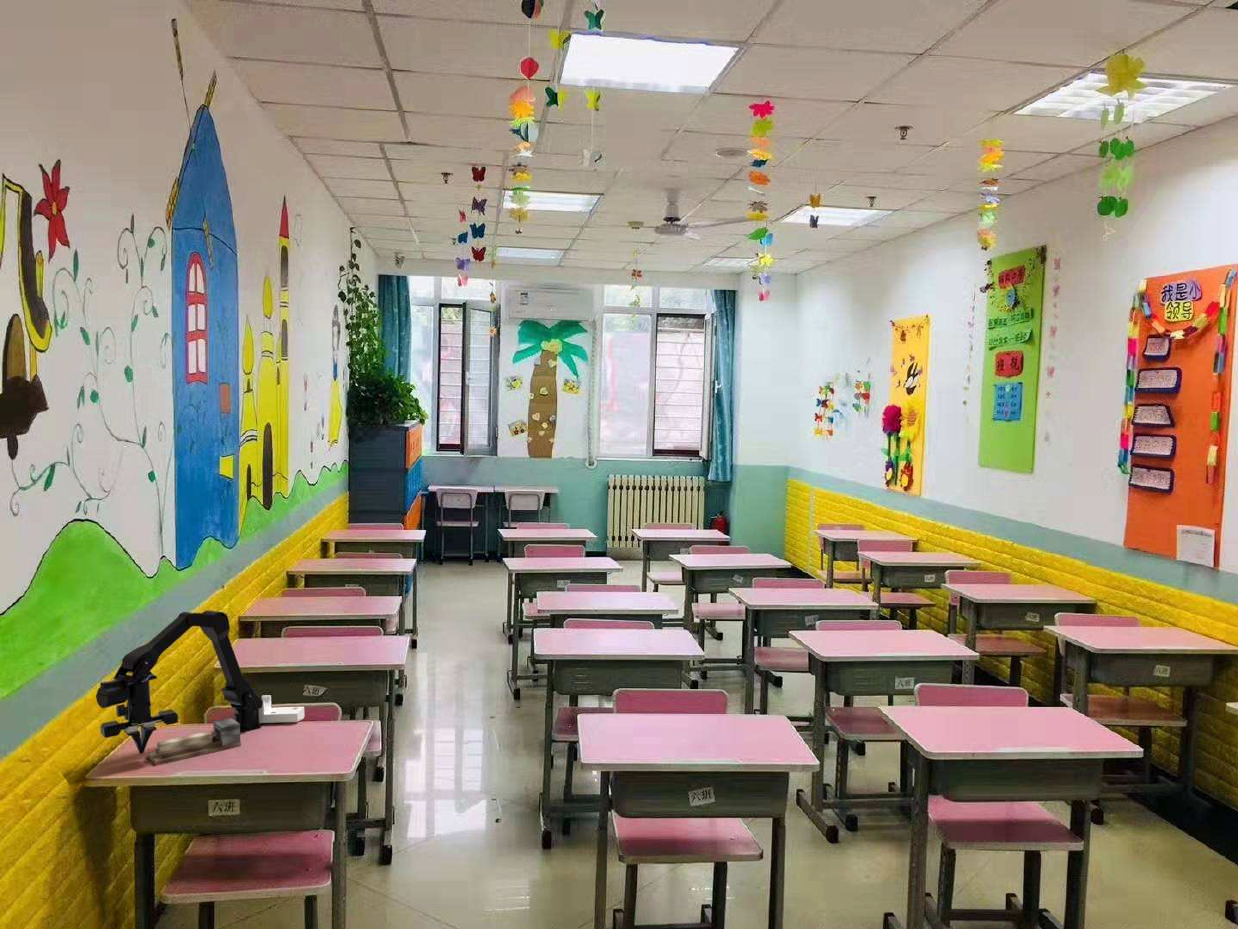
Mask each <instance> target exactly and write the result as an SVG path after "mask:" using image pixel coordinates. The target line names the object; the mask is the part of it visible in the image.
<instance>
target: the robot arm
mask: <svg viewBox="0 0 1238 929" xmlns="http://www.w3.org/2000/svg"><path fill="white" fill-rule="evenodd" d="M193 627H200V629H201V631H202V633H203V634H204V635H205V636H206V637H207V638H208V639H209V640H210V641H211V644H212V647H213V649H214V652H215V654H216V656H217V660H218V663H219V666H220V667H221V668H220V669H221V670H222V673H223V676H224V679H225V685H224V687H222V688H221V690H220V691H221V693H222V694H223V700H224V701H227V703H228V704H230V707H231V708H232V709H234V713H233V718H232V719H234V720H235V721H236V722H238V723H239V724H240V733H241V732H246V731H250V730H251V731H252V730H255V729H259V728H260V729H261V728H262V725H261V723H259V709H260V708H262V704H263V701H262V698H260V697H259V696H257V694H256V691H255V690H254V688H253V687H252V684H251V683H250V682H249V681H248V680H247V678H245V677H244V676H243V674H242V670H241V668H240V665H239V662H238V659H237V657H236V654H235V651H234V649H233V646H232V643H231V640H230V637H229V634H230V629H231V626H230V619H229V616H228V614H226V612H222V611H217V610H211V609H209V610H207V609H206V610H205V611H203V612H191V611H190V612H189V611H182V612H181V613H179V614H178V615H177V617H176V618H175V619H174V620H172V622H171V623H169V624H168V625H167V626H166V627H164V628H163V629H162V630H161V631H160V632H159V633H158V634H157V635H155V636H154V637H153V638H152V639H151V640H150V641H148V642H147V643H146V644H144V645H141V646H138V647H137V648H134V649H132V650H131V651H130V652H128V653H127V654H125V655H124V656H123V658H122V660H121V664H120V666H119V668H118V669H117V671H116V673H115V675H114V676H113V677H112V678H113V680H109V681H102V682H100V683H99V686H100V687H99V688H97V691H96V694H95V699H96V703H97V705H98V706H99V707H100V708H101V709H107V708H110V707H113V706H116V707H115V708H116V709H115V710H116V717H117V718H120V717H124V720H126V721H125V722H121V723H120V722H118V721H117V720H116V719H115V720H111V721H105V722H102V723H101V725H100V727H99V729H100V734H101V736H102V737H104V738H105V739H106V738H113V737H117V736H119V735H120V734H121V733H122V731H123V732H124V733H125V734H126V736H128V737H131V738H132V740H133V742H134V744H135V746H136V748H137V751H138V753H139V755H141V754H144V752H145V750H146V747H147V745H148V742H149V740H150V738H151V736H152V734H153V732H154V731H157V726H156V724H158V723H162V722H163V724H165V725H166V726H168V725H173V724H178V723H179V714H178V713H177V712H176V711H175V710H173V709H172V708H171V709H165V710H160V711H158V713H157V715H155V716H152V709H151V708H152V701H151V688H150V686H151V685H150V681H153V680H156V679H157V678H158V676H157V675H155V674H153V672H152V669H154V667H155V666H156V665H157V663H158V662H159V658H160V656H161V655H162V654H163V653H164V652H166V650H167V649H168V648H170V647H171V646H172V645H173V644H174V643H175V642H177V641H178V640H179V639H180V638H181V637H182V636H183V635H184V634H185V633H186V632H188V631H189V630H190V629H191V628H193ZM129 674H130V675H129ZM124 703H126V705H125V704H124ZM138 727H140V731H139V730H138Z"/></svg>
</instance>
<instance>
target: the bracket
mask: <svg viewBox="0 0 1238 929" xmlns="http://www.w3.org/2000/svg"><path fill="white" fill-rule="evenodd" d="M261 700H262V701H263V704H262V708H260V709H259V724H265V723H266V724H268V723H271V724H273V723H298V722H299V721H302V720H303V719H304V718H305V706H286V707H285V706H284V707H281V706H280V707H279V706H278V707H272V695H269V694H268V695H267V694H265V695H261Z"/></svg>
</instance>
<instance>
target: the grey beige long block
mask: <svg viewBox="0 0 1238 929" xmlns="http://www.w3.org/2000/svg"><path fill="white" fill-rule="evenodd" d="M212 736H213V733H212V732H211V731H210V730H208V731H203V732H199V733H194V734H189V735H185V736H181V737H180V736H179V737H176V738H171V739H167V740H162V741H157V743H156V744H157V745H156V746H157V748H156V749H158V755H159V756H160V757H161V754H163V753H167V752H172V751H176V750H181V749H185V748H190V747H194V746H199V745H203V744H207V743H212Z"/></svg>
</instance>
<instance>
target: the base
mask: <svg viewBox="0 0 1238 929" xmlns="http://www.w3.org/2000/svg"><path fill="white" fill-rule="evenodd" d="M212 724H213V727H212V728H213V735H212V743H207V744H203V745H199V746H194V747H190V748H185V749H181V750H176V751H172V752H167V753H163V754H161V757H160V756H159V755H158V748H156V749H155V750H156V751H153V752H148V753H147V758H148V759H149V760H150V761H151V762H152V763H153V764H154V765H155V766H160V765H163V764H164V763H165V764H169V763H173V762H177V760H178V761H182V760H185V759H191V758H194V757H198V756H203V755H207V754H212V753H216V752H220V751H225V750H228V749H234V748H238V747H241V746H242V741H241V732H240V724H239V723H238V722H236V721H235V720H234V719H233V718H232V717H225V718H222V719H216V720H213V722H212ZM172 761H173V762H172ZM168 762H169V763H168ZM159 764H160V765H159ZM165 764H164V765H165Z"/></svg>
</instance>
